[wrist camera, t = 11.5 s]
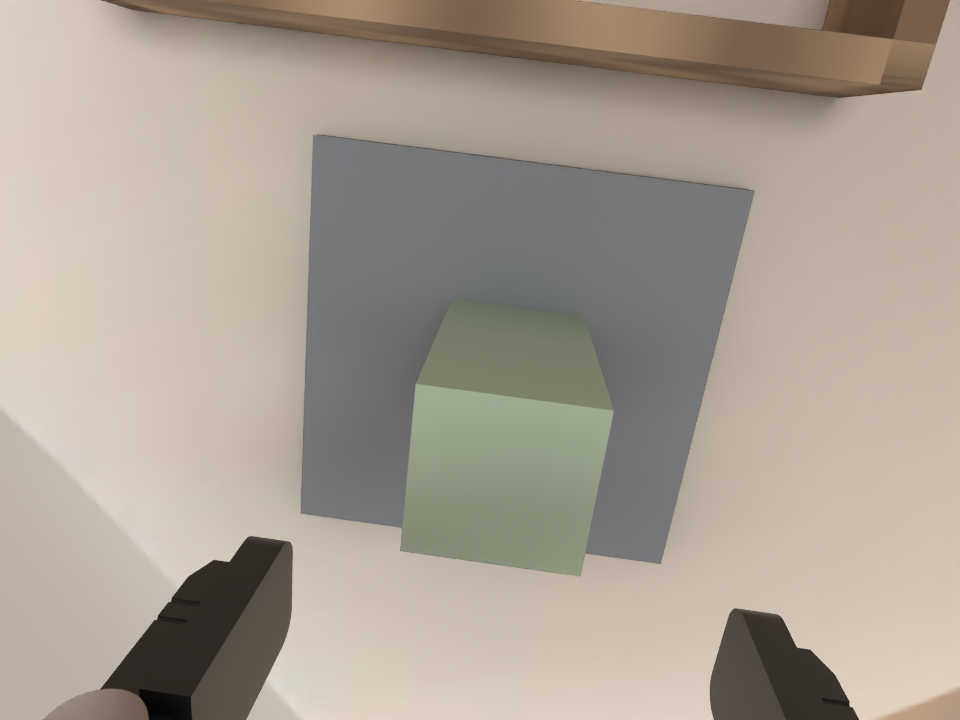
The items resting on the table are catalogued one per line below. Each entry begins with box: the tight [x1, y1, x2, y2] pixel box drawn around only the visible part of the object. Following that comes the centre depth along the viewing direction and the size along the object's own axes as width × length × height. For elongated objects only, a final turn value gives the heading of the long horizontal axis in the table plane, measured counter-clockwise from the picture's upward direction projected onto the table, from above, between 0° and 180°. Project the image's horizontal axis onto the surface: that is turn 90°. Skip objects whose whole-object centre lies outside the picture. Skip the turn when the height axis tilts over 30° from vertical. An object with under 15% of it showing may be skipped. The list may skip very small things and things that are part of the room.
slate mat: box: [301, 135, 754, 564], centre depth 24 cm, size 14×14×1 cm
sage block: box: [400, 298, 614, 576], centre depth 19 cm, size 4×4×8 cm
